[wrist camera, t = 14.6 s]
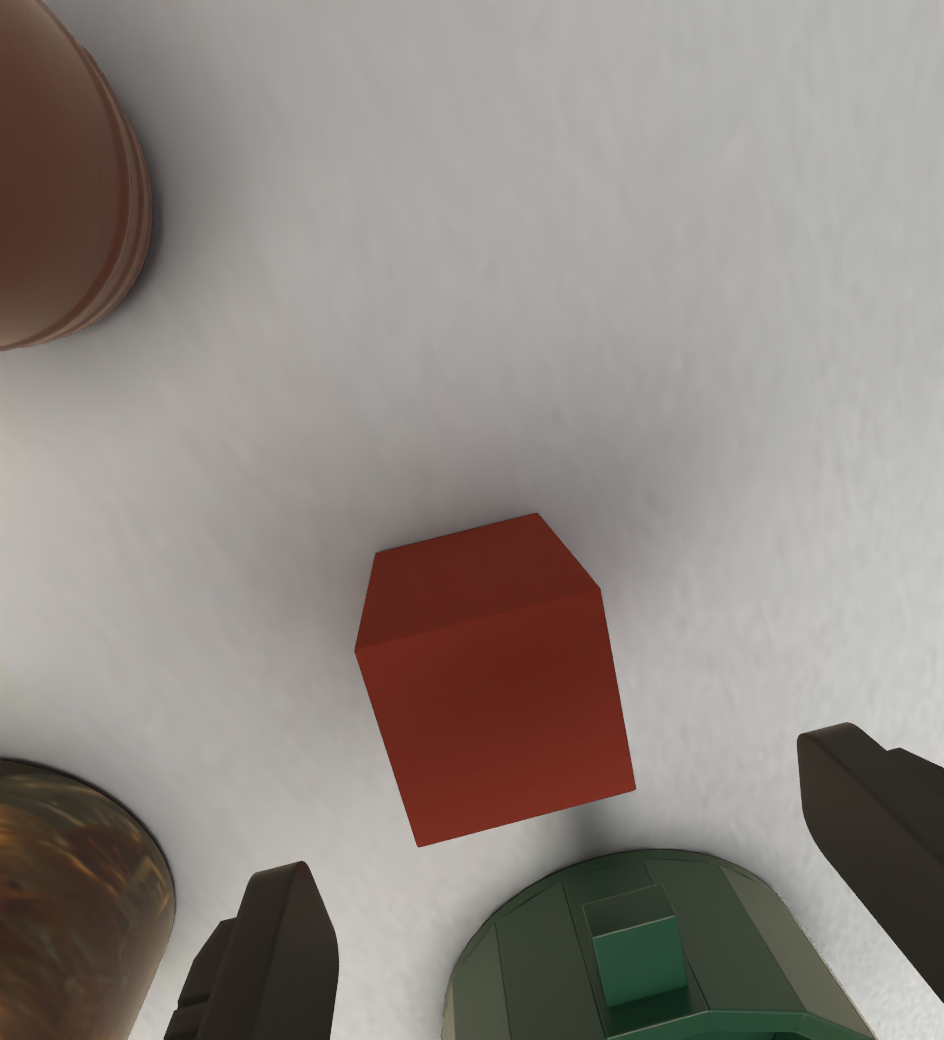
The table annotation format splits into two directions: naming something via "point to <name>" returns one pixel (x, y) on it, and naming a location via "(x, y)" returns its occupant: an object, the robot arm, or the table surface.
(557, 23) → the table surface
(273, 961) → the robot arm
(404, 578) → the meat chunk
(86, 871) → the jar
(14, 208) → the mug
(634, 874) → the pot
